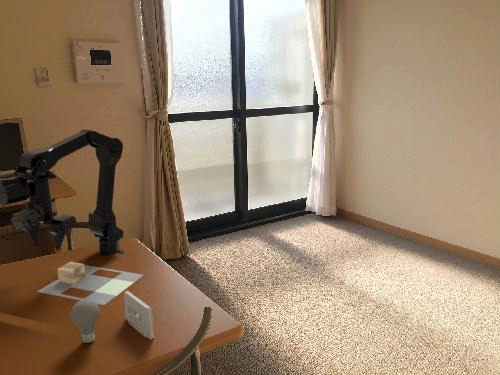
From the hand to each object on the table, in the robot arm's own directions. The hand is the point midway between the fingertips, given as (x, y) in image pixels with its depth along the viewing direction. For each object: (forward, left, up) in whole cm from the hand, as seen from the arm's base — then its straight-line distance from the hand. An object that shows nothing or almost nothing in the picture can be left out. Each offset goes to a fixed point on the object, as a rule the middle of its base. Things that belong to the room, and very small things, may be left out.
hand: (47, 248), depth 121 cm
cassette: (+13, +39, -10) cm, 42 cm away
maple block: (0, +8, -8) cm, 12 cm away
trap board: (0, +15, -10) cm, 18 cm away
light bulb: (+21, +31, -10) cm, 39 cm away
